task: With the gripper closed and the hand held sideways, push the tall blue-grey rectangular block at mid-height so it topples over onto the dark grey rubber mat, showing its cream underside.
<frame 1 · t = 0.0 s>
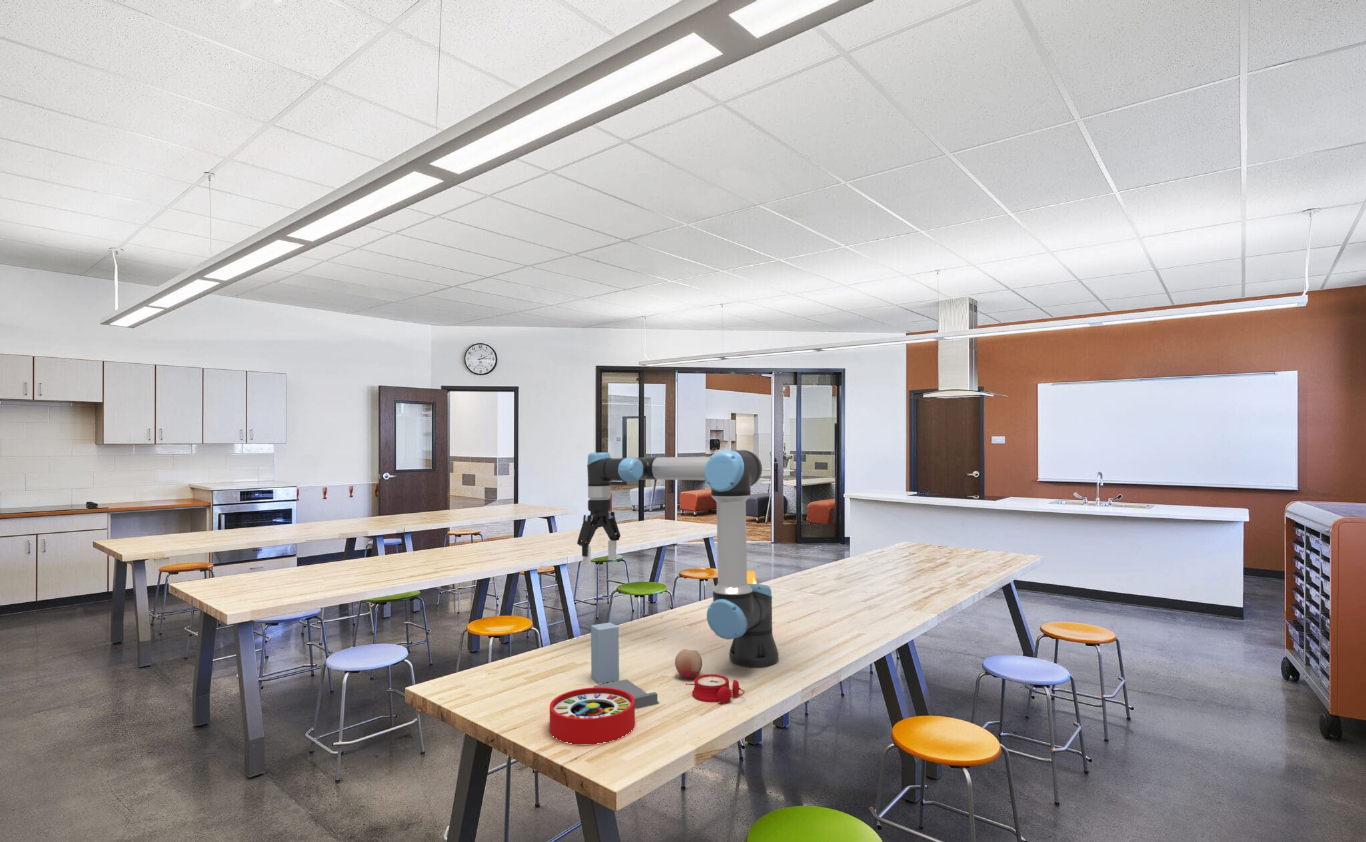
hand: (599, 563, 218), 28 cm above the table, tool pointing down, fingers open, 13 cm apart
toy clock: (592, 728, 156), on the table
fruit: (688, 677, 188), on the table
orange juice: (744, 625, 243), on the table
blue-grey rectangular block: (605, 679, 187), on the table
alarm clock: (717, 697, 174), on the table
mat: (625, 694, 175), on the table
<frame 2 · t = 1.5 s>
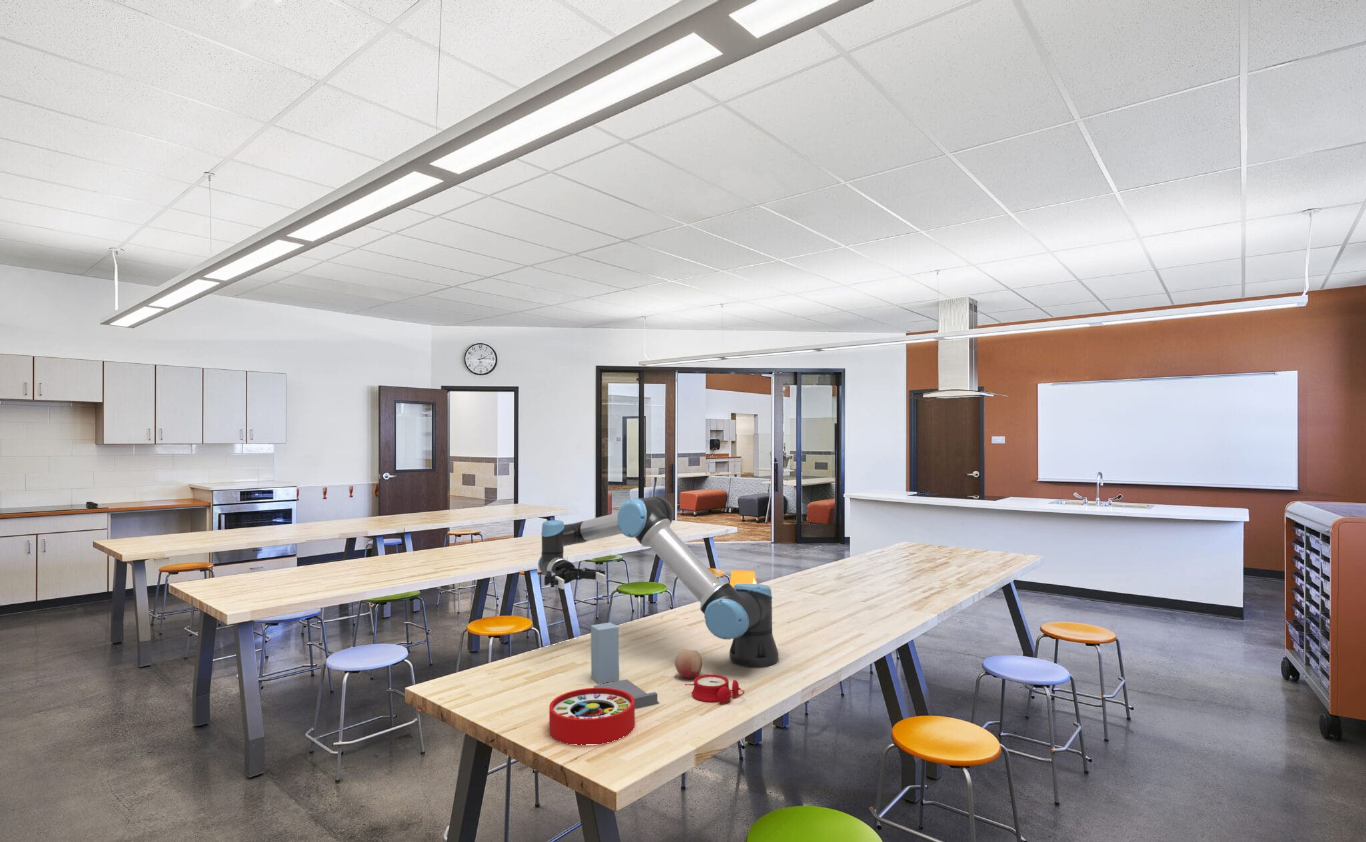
hand: (584, 582, 203), 25 cm above the table, tool horizontal, fingers open, 13 cm apart
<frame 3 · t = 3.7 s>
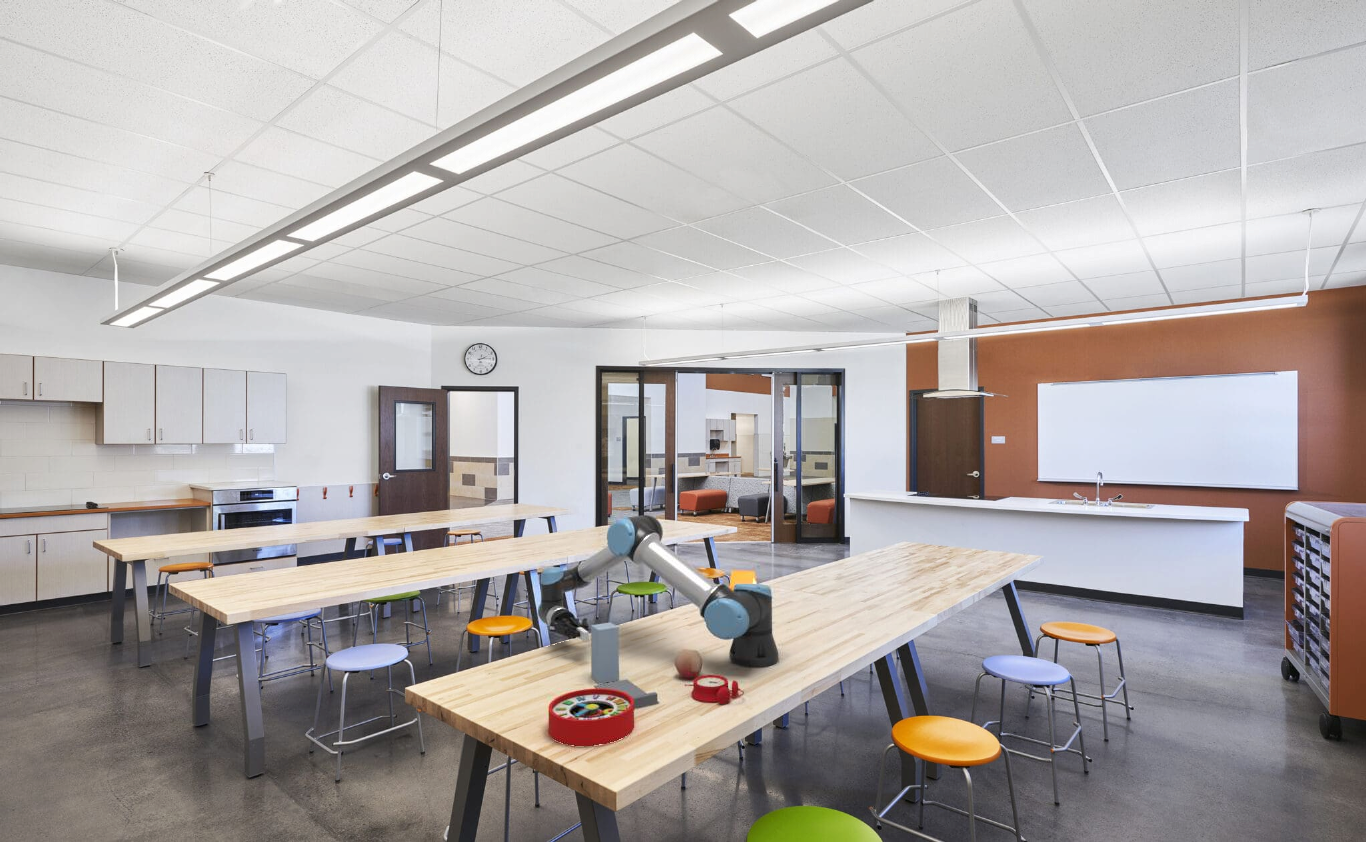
hand: (586, 636, 200), 9 cm above the table, tool horizontal, fingers closed
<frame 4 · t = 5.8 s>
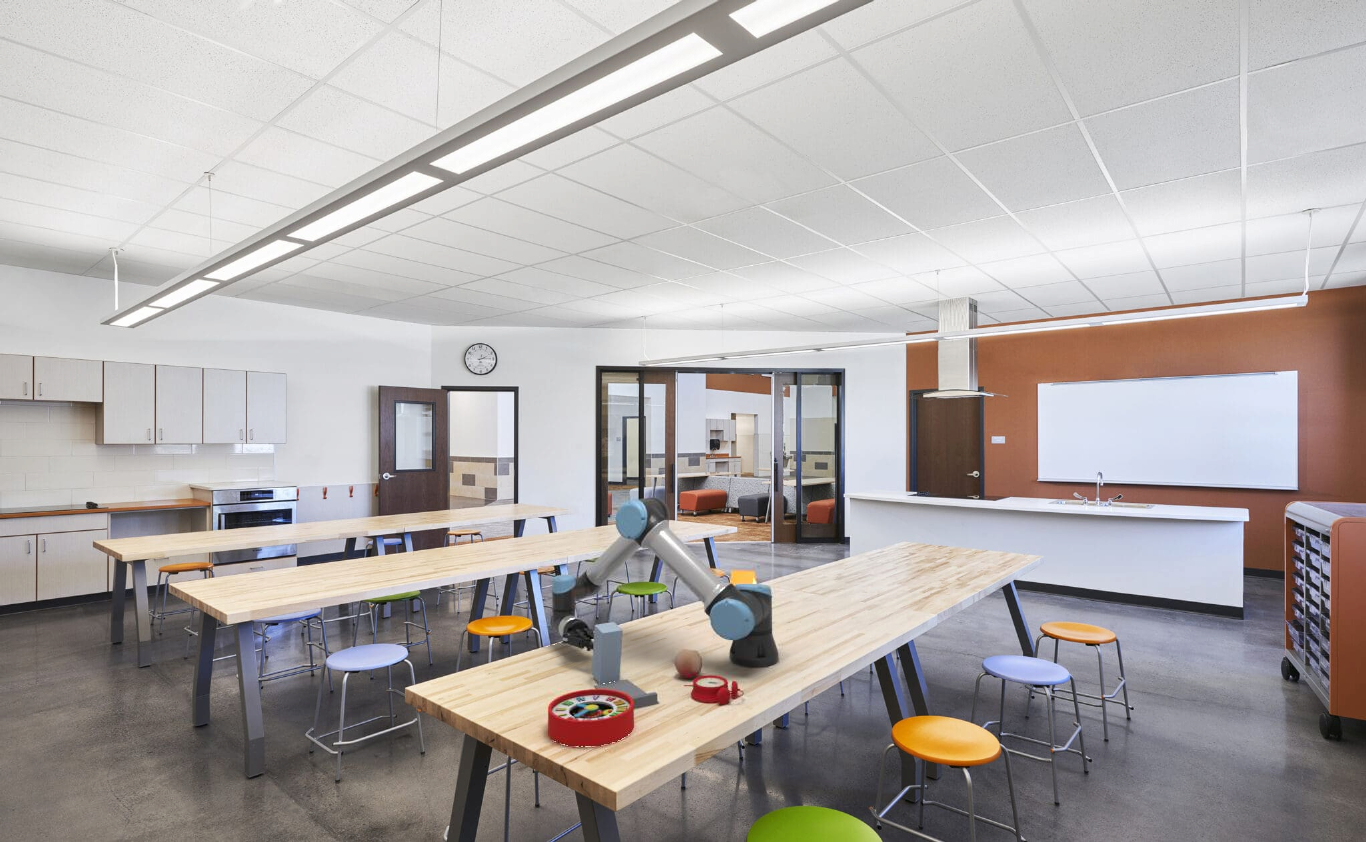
hand: (601, 649, 190), 8 cm above the table, tool horizontal, fingers closed
blue-grey rectangular block: (605, 678, 187), on the table, tilted 9°, touching gripper
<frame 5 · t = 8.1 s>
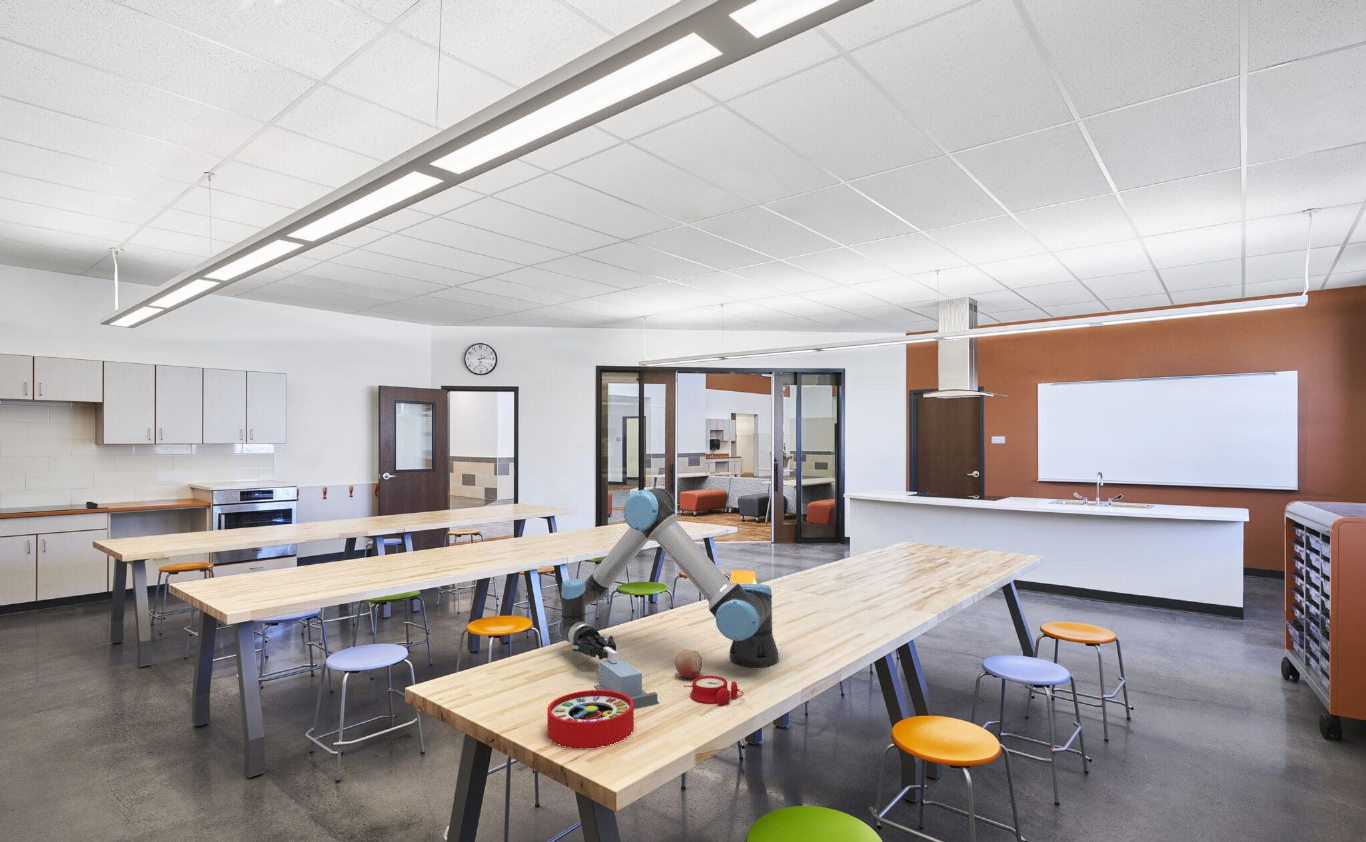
hand: (614, 657, 181), 8 cm above the table, tool horizontal, fingers closed
blue-grey rectangular block: (609, 670, 185), point 3 cm above the table, tilted 90°, touching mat
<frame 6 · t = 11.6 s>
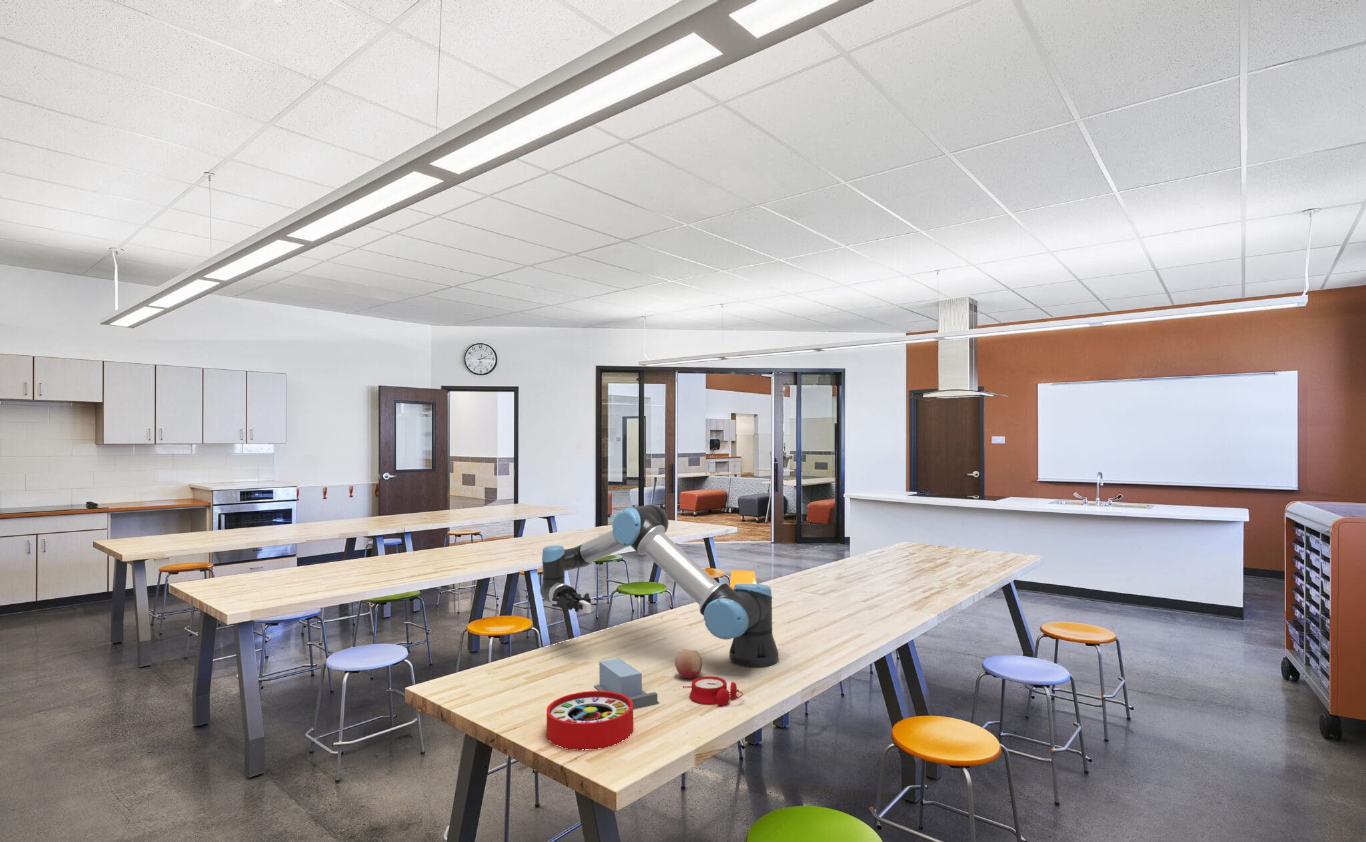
hand: (588, 608, 201), 17 cm above the table, tool horizontal, fingers closed
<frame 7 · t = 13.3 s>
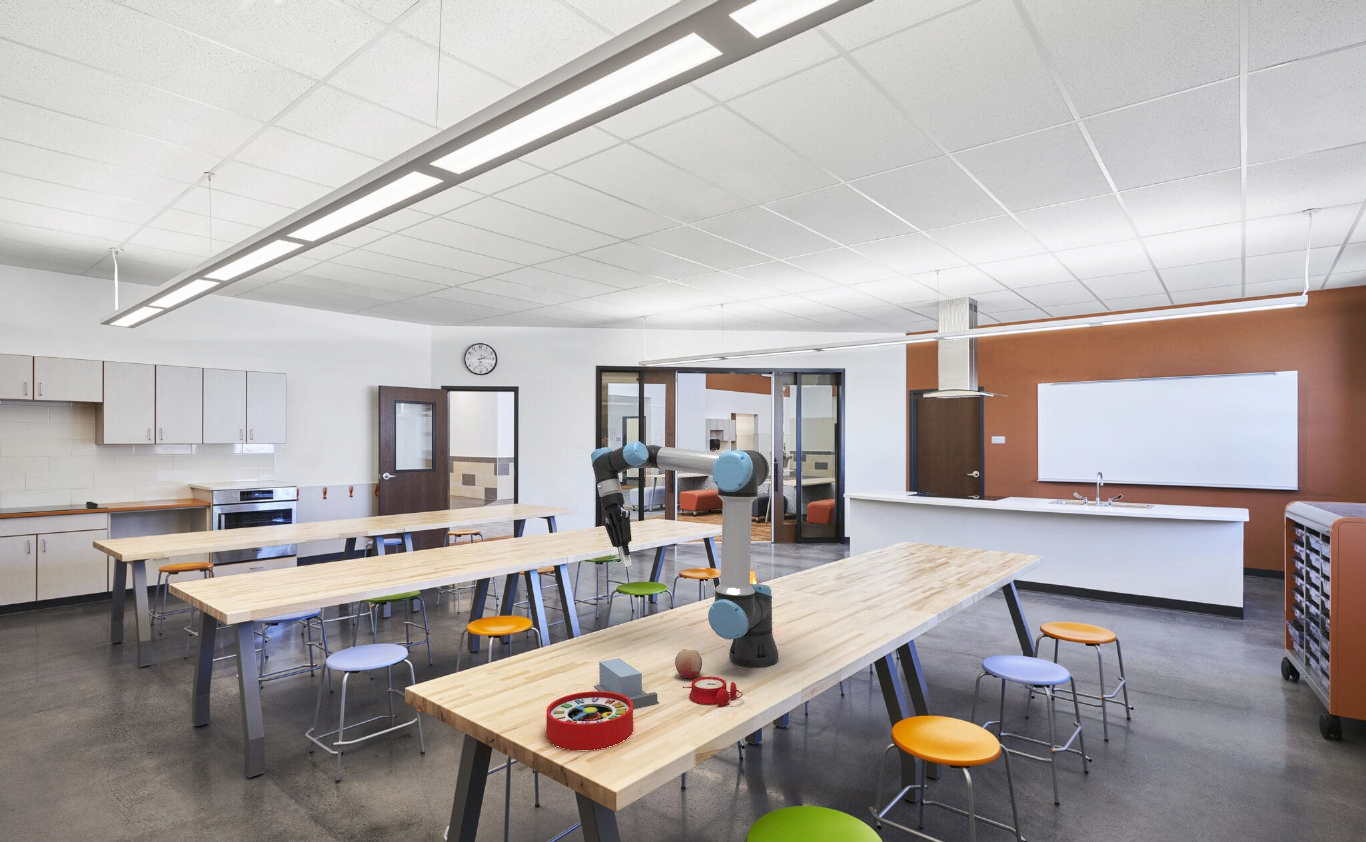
hand: (627, 566, 208), 28 cm above the table, tool tilted 20°, fingers closed
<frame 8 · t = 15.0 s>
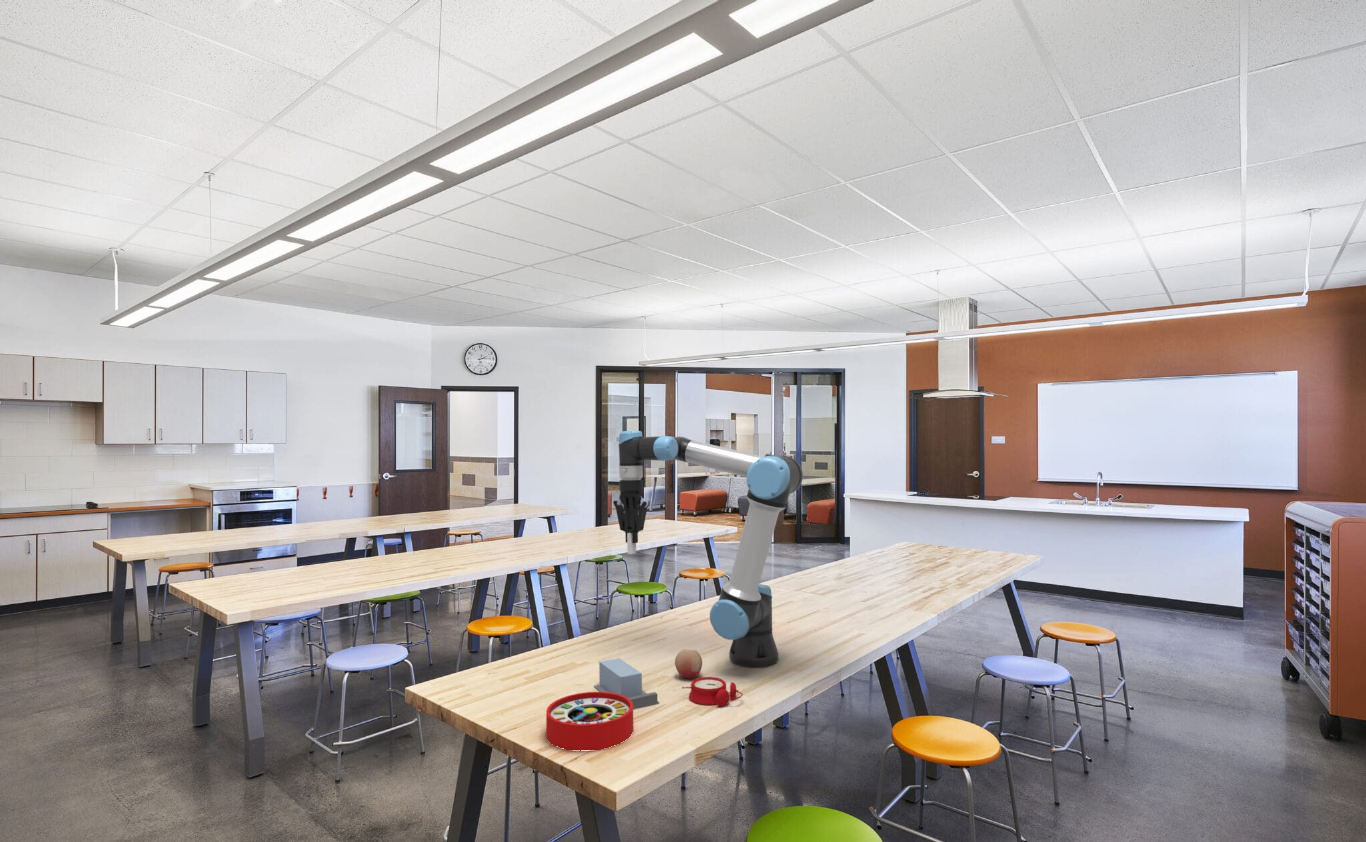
hand: (631, 553, 210), 32 cm above the table, tool pointing down, fingers closed
at the end: blue-grey rectangular block tilted 90°; blue-grey rectangular block inside the target area (9.6 cm from its centre), point 3.3 cm above the table; the gripper is holding nothing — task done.
